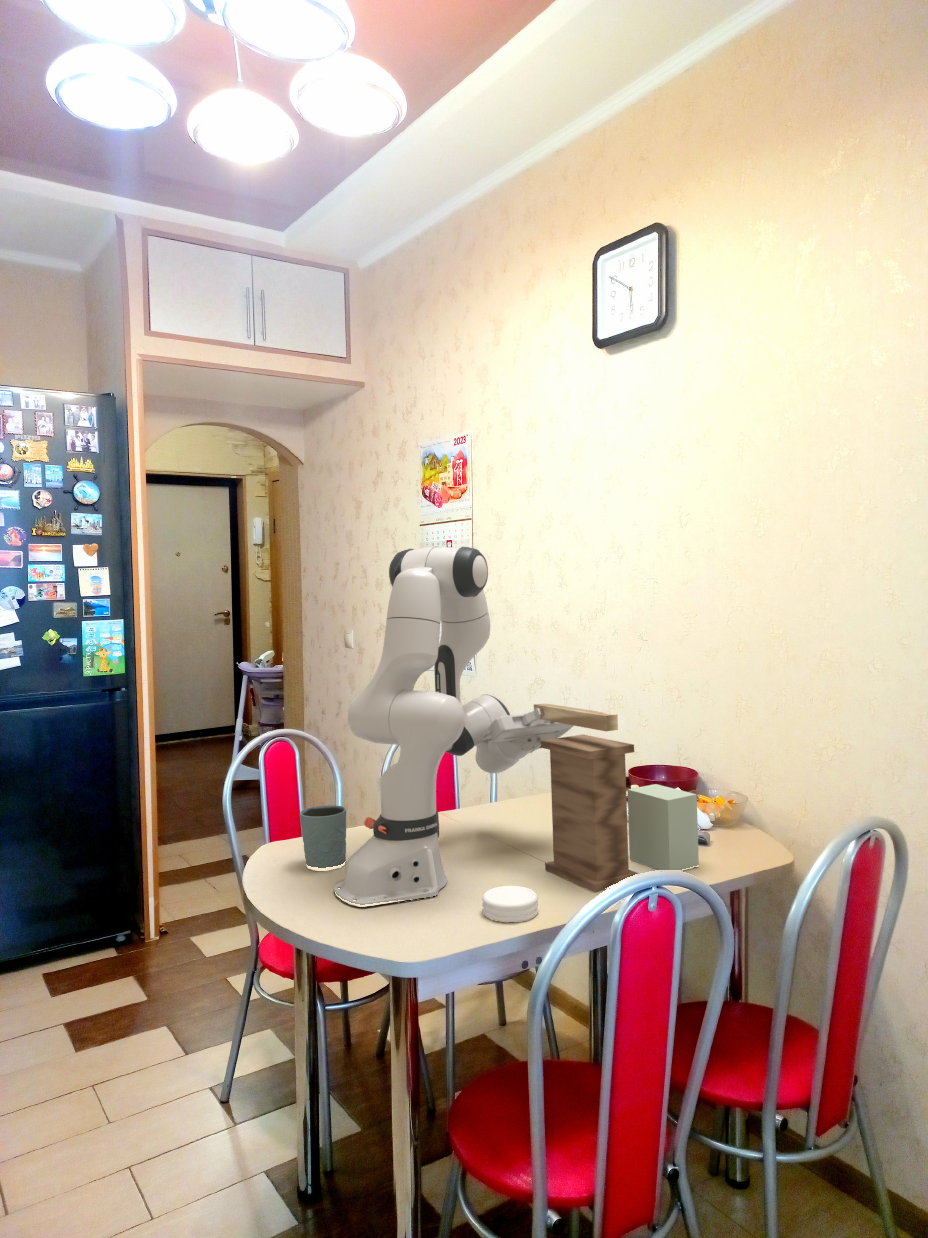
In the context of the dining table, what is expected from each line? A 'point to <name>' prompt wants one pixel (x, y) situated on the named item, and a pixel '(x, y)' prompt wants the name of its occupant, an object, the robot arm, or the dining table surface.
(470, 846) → the dining table surface
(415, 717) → the robot arm
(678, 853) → the sage-green block
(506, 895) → the coaster
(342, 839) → the grey-green cup
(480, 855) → the dining table surface
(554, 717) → the maple rod
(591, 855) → the walnut pedestal
